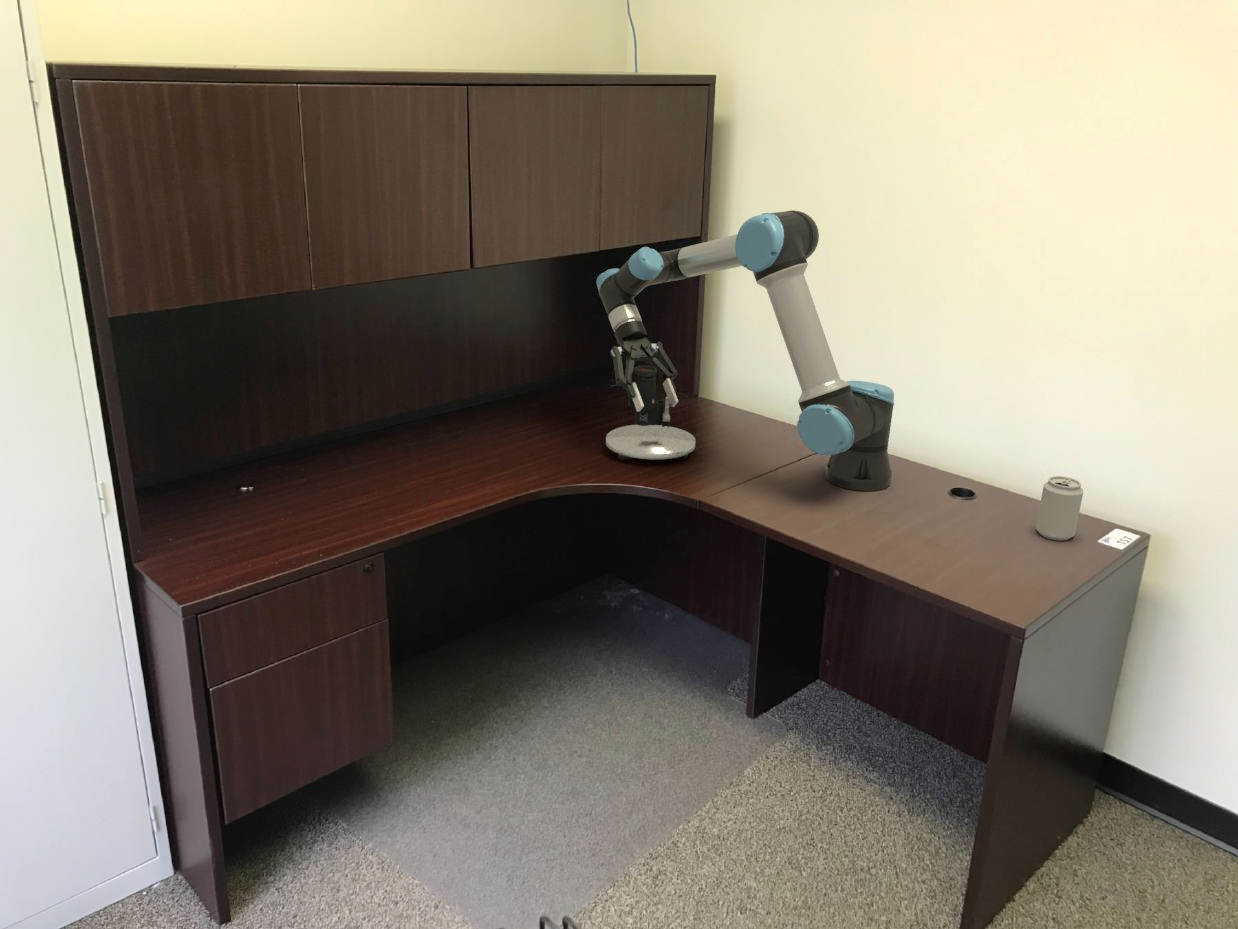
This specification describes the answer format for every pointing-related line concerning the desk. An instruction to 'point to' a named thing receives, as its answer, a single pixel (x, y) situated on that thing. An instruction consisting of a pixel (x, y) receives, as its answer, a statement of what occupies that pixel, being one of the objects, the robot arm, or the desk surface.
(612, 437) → the base
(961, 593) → the desk surface
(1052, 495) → the can
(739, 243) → the robot arm
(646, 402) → the scope
